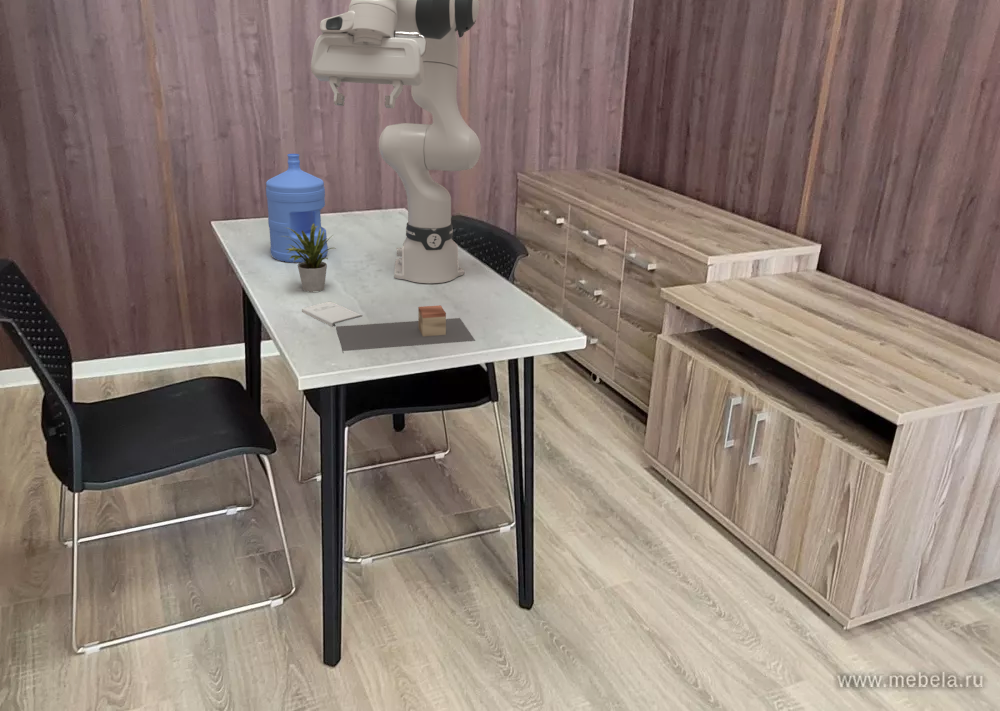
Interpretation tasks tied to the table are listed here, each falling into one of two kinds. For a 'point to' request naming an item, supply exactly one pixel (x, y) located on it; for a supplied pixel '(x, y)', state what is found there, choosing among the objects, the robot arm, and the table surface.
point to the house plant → (311, 261)
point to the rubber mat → (398, 335)
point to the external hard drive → (330, 313)
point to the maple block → (432, 320)
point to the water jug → (294, 209)
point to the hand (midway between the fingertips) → (364, 105)
